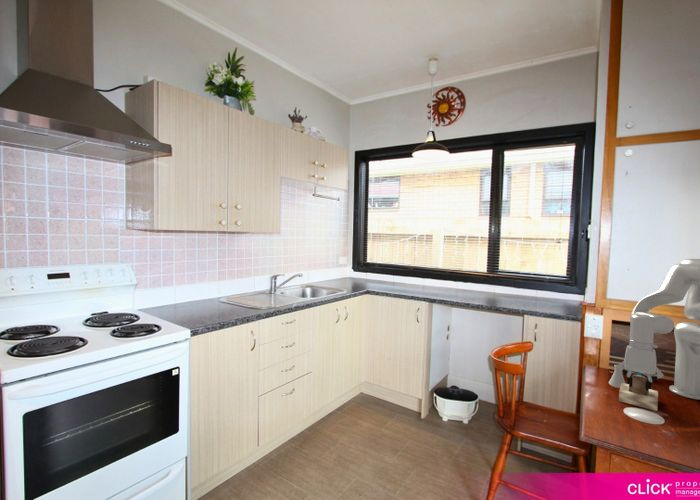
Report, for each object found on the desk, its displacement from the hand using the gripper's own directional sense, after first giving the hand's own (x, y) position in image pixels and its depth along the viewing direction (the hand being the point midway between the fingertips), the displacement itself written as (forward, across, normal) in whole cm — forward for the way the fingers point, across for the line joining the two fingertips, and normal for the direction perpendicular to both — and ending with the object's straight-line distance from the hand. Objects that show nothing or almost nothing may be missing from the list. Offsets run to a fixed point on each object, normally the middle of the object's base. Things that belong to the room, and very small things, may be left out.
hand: (638, 387), depth 145 cm
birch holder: (+6, 0, 0) cm, 6 cm away
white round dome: (+6, -2, +15) cm, 16 cm away
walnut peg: (+5, 0, 0) cm, 5 cm away
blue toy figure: (+7, +2, -38) cm, 38 cm away
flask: (+7, +8, -13) cm, 17 cm away
